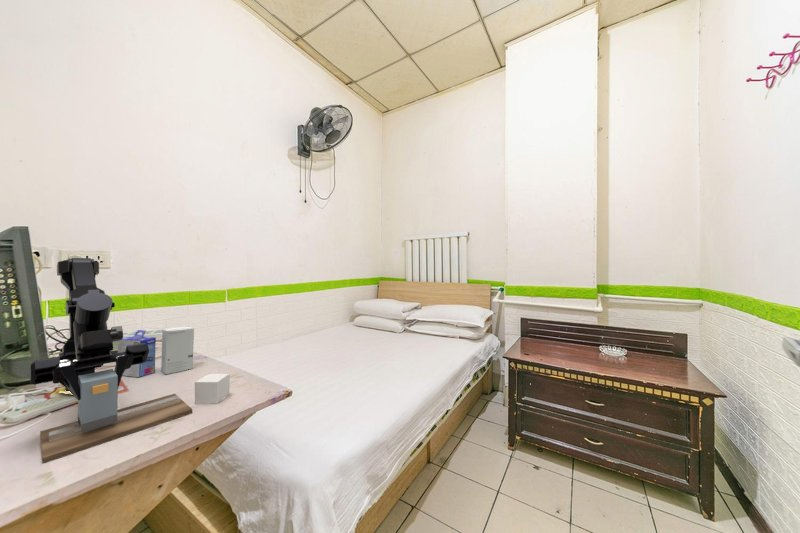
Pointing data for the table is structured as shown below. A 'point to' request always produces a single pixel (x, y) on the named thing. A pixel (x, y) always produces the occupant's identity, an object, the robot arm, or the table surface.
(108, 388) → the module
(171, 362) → the skincare box
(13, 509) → the table surface
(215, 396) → the white cube
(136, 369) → the ink cartridge box
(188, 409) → the rail board
